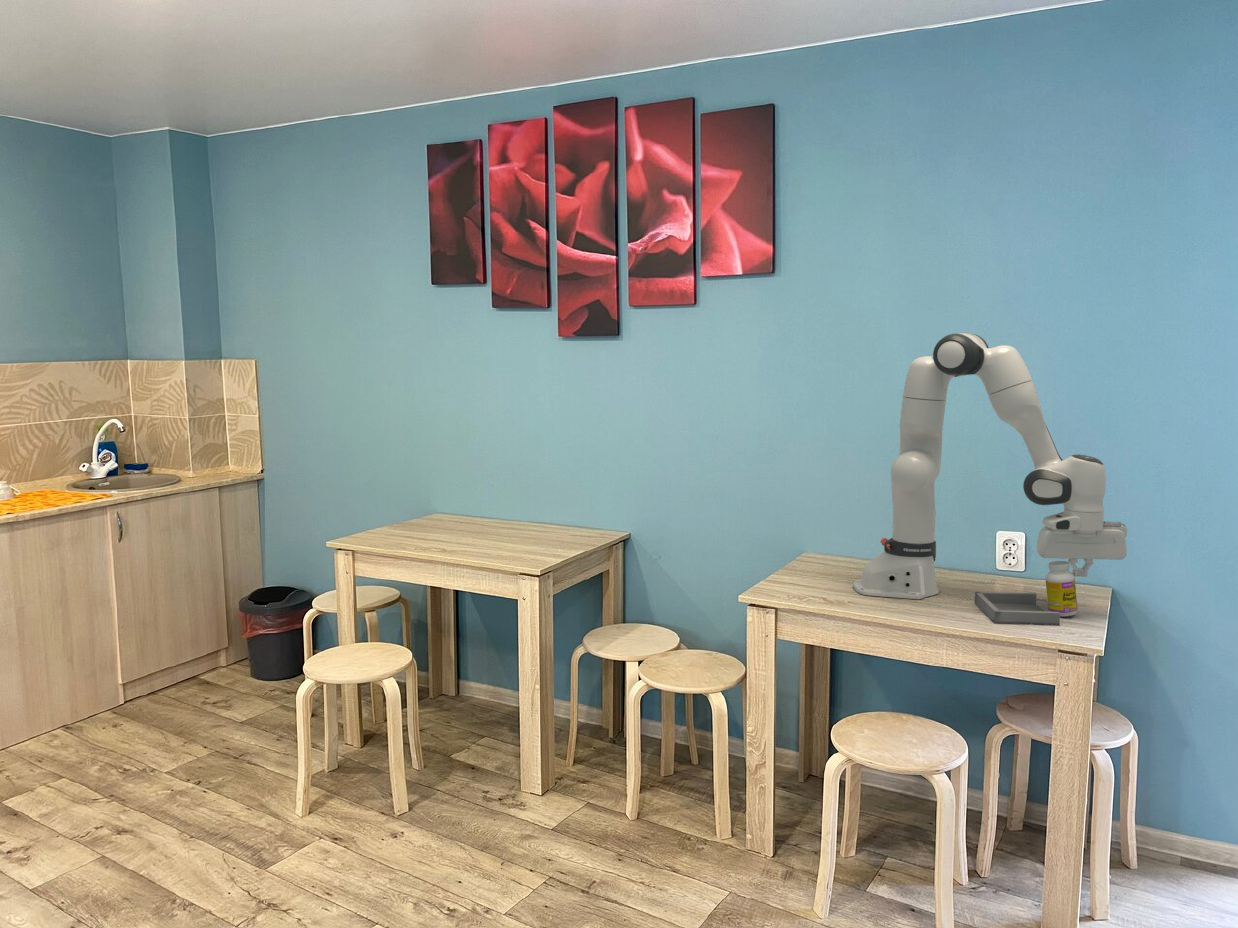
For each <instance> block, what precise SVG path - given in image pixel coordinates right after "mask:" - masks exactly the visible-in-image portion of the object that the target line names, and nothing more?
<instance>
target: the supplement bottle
mask: <svg viewBox="0 0 1238 928" xmlns="http://www.w3.org/2000/svg"><path fill="white" fill-rule="evenodd" d="M1070 566H1071V565H1070V563H1069V561H1066V560H1056V561H1055V560H1054V561H1051V562H1049V563H1048V569H1049V572H1048V573H1046V574H1045V587H1046V590H1045V591H1046V599H1047V601H1046V602H1047V612H1059V613H1060V618H1061V617H1063V618H1064V617H1065V618H1066V617H1070V616H1071V617H1072V616H1074V615H1076V614H1077V613H1078V601H1077V599H1078V598H1077V587H1076V576H1074V574H1073V572H1071V571H1070V568H1071V567H1070Z"/></svg>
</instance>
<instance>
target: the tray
mask: <svg viewBox="0 0 1238 928" xmlns="http://www.w3.org/2000/svg"><path fill="white" fill-rule="evenodd" d="M1037 596H1038V595H1037V593H1036V592H1001V591H1000V592H999V591H997V592H995V591H975V592H974V604H975V605H976V606H977V607H978V608H979V609H980V610H981V611H982V612H983V613H984V614H985V615H986V616H987V618H989V619H990V621H992V623H993V624H995V625H997V624H999V625H1001V624H1002V625H1006V624H1007V625H1029V624H1034V625H1038V626H1060V622H1061V621H1060V620H1061V616H1060V613H1059V612H1048V611H1045V610H1044V608H1042V607H1041V606H1039V605H1038V604H1037ZM996 623H997V624H996Z"/></svg>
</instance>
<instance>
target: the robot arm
mask: <svg viewBox="0 0 1238 928" xmlns="http://www.w3.org/2000/svg"><path fill="white" fill-rule="evenodd" d="M970 375H971V376H972V375H975V376H977V377H979V378H980V380H981V382H982V383H983V386H984V388H985V391H986V394H987V396H988V399H989V403H990V404H991V406H992V408H993V410H994V412H995V414H996V416H997V417H998V419H1000V421H1003V422H1004V423H1005V424H1007V425H1009V426H1010V427H1012V428H1014V429H1015V430H1016V431H1017V432H1018V433H1019V434H1020V436H1021V438H1022V439H1023V441H1024V443H1025V445H1026V448H1027V450H1028V452H1029V453H1028V454H1029V455H1030V457H1031V460H1032V462H1033V466H1034V469H1033V470H1032V471H1031V472H1029V473H1028V474H1027V476H1025V478H1024V480H1023V483H1022V484H1023V487H1022V488H1023V492H1024V495H1025V497H1026V498H1027V499H1028V500H1029V501H1030V502H1031V503H1033V504H1035V505H1038V506H1051V505H1061V504H1062V505H1063V511H1062V512H1058V513H1055V514H1051V515H1047V516H1045V517H1043V518H1042V525H1043V527H1042V528H1041V529H1040V530H1039V533H1038V538H1037V544H1036V553H1037V555H1038V556H1039V557H1041V558H1043V559H1062V560H1063V559H1066V560H1067V559H1068V562H1069V565H1070V566H1071V567H1070V568H1072V573H1073V574H1074V576H1075V577H1083V578H1085V577H1086V578H1087V577H1088V572H1089V571H1088V570H1089V569H1090V568H1091V567H1092V566H1093V564H1094V560H1110V561H1111V560H1115V561H1116V560H1117V561H1119V560H1121V561H1123V560H1124V559H1125V558H1126V557H1127V540H1126V538H1127V536H1128V527H1127V525H1126V524H1124V523H1122V522H1121V521H1104V519H1105V518H1104V517H1105V516H1104V515H1105V507H1104V497H1105V495H1106V485H1107V483H1106V479H1107V478H1106V469H1105V465H1104V463H1103V462H1102V460H1100V459H1099V458H1097V457H1092V456H1090V455H1085V454H1072V455H1070V456H1068V457H1067V458H1064V459H1063V458H1062V457H1061V455H1060V454H1059V452H1058V450H1057V447H1056V445H1055V442H1054V439H1053V438H1052V436H1051V432H1050V430H1049V429H1048V427H1047V426H1048V425H1047V424H1046V422H1045V418H1044V415H1043V410H1042V408H1041V404H1040V399H1039V396H1038V392H1037V389H1036V386H1035V383H1034V380H1033V378H1032V376H1031V375H1032V374H1031V373H1030V371H1029V368H1028V367H1027V364H1026V362H1025V361H1024V359H1023V357H1022V356H1021V355H1020V352H1019V351H1018V350H1017V349H1016V348H1015V347H1014V346H1011V345H1004V344H1003V345H1002V344H1001V345H997V346H993V347H989V345H988V343H987V341H985V339H984V338H983V337H981V336H980V335H977V334H976V333H975V334H974V333H969V332H957V333H950V334H946V335H945V336H943V337H942V338H941V339H940V340H938V341H937V343H936V344H935V346H934V348H933V352H932V356H931V355H929V356H928V355H926V356H920V357H918V358H915V359H914V360H912V362H911V363H910V365H909V368H908V369H907V374H906V378H905V381H904V385H903V386H904V387H903V393H902V400H901V401H902V402H901V408H900V409H901V410H900V420H899V455H898V456H897V457H896V459H895V460H894V461H893V463H892V466H891V469H890V475H891V476H890V479H891V480H890V482H891V484H890V486H891V502H892V529H891V530H892V534H891V538H889V539H888V538H887V537H881V539H880V544H881V545H882V546H883V550H884V551H883V552H881V554H879V555H877V556H876V557H874V558H873V559H871V560H870V561H868V562H867V563H866V564H865V565H864V567H863V571H862V573H861V578H860V579H855V580H854V582H853V585H852V586H853V587H852V588H853V589H854V591H855V592H856V593H858V594H860V595H864V596H870V597H872V596H873V597H883V598H884V597H885V598H898V599H899V598H900V599H909V600H910V599H913V600H922V599H924V598H927V597H933V596H934V595H937V594H939V588H938V582H937V578H936V569H935V568H936V567H935V561H936V558H937V541H936V540H935V535H936V534H935V533H936V517H937V516H936V513H937V512H936V502H935V481H936V480H937V479H938V477H939V475H940V471H941V462H942V448H943V447H942V446H943V430H944V421H945V420H944V419H945V411H946V403H947V395H948V394H947V393H948V387H949V383H950V382H951V380H952V379H953V378H958V377H962V376H964V377H965V376H970ZM1079 560H1083V562H1084V564H1083V566H1082V567H1081V568H1078V567H1077V564H1078V561H1079Z"/></svg>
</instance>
